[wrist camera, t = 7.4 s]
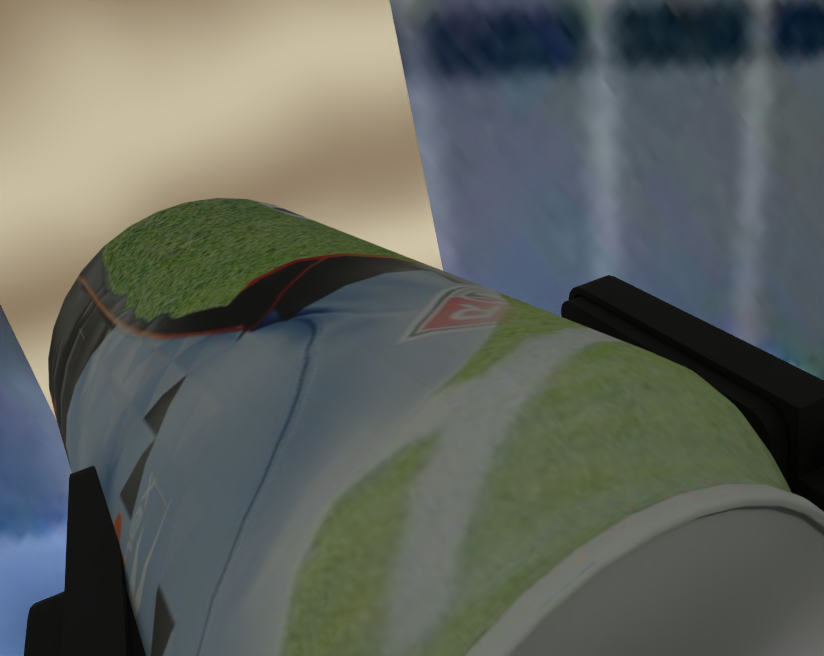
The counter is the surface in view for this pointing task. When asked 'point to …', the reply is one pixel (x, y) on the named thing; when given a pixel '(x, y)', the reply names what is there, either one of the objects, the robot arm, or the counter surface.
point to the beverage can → (409, 460)
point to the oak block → (194, 130)
